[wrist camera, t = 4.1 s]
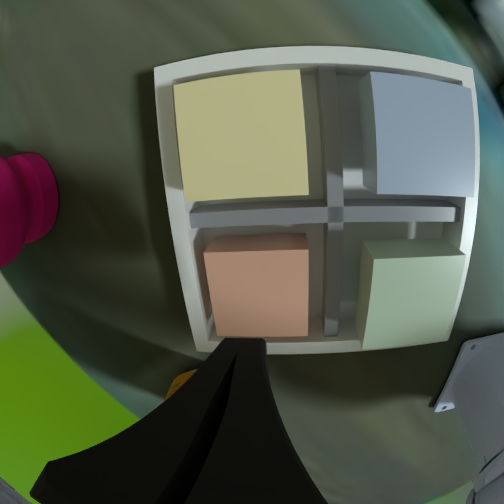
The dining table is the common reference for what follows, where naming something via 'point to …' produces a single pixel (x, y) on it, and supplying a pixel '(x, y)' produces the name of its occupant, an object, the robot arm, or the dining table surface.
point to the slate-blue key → (416, 136)
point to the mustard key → (242, 136)
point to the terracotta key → (259, 284)
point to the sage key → (406, 291)
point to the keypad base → (311, 190)
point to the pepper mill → (25, 202)
